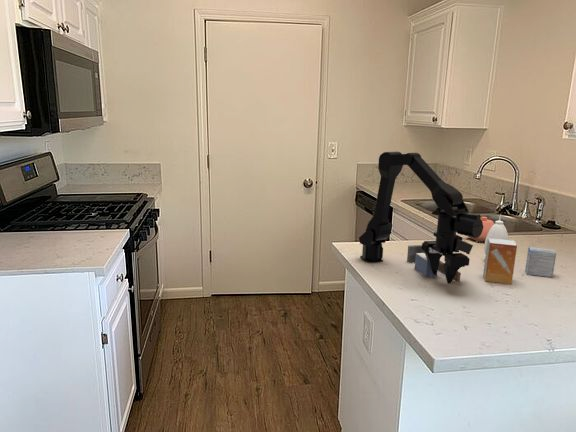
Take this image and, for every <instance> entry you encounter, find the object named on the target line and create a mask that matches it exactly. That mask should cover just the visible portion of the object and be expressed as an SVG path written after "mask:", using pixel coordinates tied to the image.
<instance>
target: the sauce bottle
mask: <svg viewBox="0 0 576 432" xmlns="http://www.w3.org/2000/svg"><path fill="white" fill-rule="evenodd" d="M501 217H502V214H501V213H500V214H499V217H498V220H495V223H494V225H493V226H492V227H491V229H490V230H489V232H488V234H487V237H486V240H485V242H484V254H485V255H486V249H487V241H488V238H491V239H503V240H510V239H509V234H508V230H507V228H506V226H505V225H504V221H502V220H501Z"/></svg>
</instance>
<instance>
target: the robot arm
mask: <svg viewBox="0 0 576 432" xmlns="http://www.w3.org/2000/svg"><path fill="white" fill-rule="evenodd" d="M404 166H407V167H409V168H410V169H411V171H412V172H413V173H414V174H415V175H416V176H417V178H418V179H419V180H420V181H421V182H422V183H423V184H424V185H425V186H426V188H427V189H428V190H429V191H430V193H431V199H432V200H433V202H434V203H435V205H436V206H437V208H436V209H435V210H434V211H433V210H432V211H431V214H432V215H434V216H437V221H436V222H437V224H436V232H433V236H434V237H435V240H424V241H423V242H422V243H421V245H422V250H424V253H425V255H426V257H427V260H428V262H429V264H430V267H431V270H432V272H433V274H434V275H436V274H437V275H438V272H439V271H438V267H439V262H440V261H441V257H443V256H444V262H443V265H444V270H445V274H444V275H445V280H446V284H448V285H451V284H452V282H453V281H454V280H453V279H454V277H455V275H456V273H457V271H458V272H459V270H460V269H461V268H465V267H468V266H470V260H471V259H470V257H468V256H467V255H470V253H471V251H472V248H473V247H474V245H473V244H471V243H469V242H468V241H464V240H463V237H462V236H466V237H469V236H470V237H474V238H478V237H479V236H480V235H481V233H482V231H483V222H482V220H481V214H478V213H470V211H469V208H468V207H467V205H466V203H465V201H464V197H463V193H461V192H460V191H459V189H457V188H455V187H454V186H452V185H451V184H449V183H447V182H445V181H444V180H443V179H442V178H441V177H440V176H439V175H438V174H437V173H436V172H435V171H434V170H433V169H432V167H430V165H429V164H428V163H427V162H426V161H425V159H423V158H422V155H421V154H420V153H418V152H407V153H402V152H401V151H383V153H381V154H380V155H379V156H378V168H377V169H378V172H379V175H380V181H379V185H378V190H377V196H376V200H375V206H374V212H373V216H372V217H371V219H370V220H369V221H368V222H367V225H366V227H365V232H363V234H362V235H360V236H359V237H358V240H359V244H360V245H362V252H361V254H362V255H360V256H359V257H360V258H361V259H362V260H363V261H364V262H366V263H377V262H379V263H381V262H384V260H383V256H384V247H383V244H385V243H386V242H387V239H388V238H389V237H390V235H392V228H393V223H390V221H389V213H390V208H391V202H392V197H393V193H394V189H395V188H394V187H395V183H396V178H397V177H398V176H399V174H400V173H401V172H402V170H403V167H404ZM460 235H462V236H460ZM464 253H465V254H464ZM466 254H467V255H466Z"/></svg>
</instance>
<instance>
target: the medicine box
mask: <svg viewBox="0 0 576 432" xmlns="http://www.w3.org/2000/svg"><path fill="white" fill-rule="evenodd" d="M556 257H557V252H556V251H555V250H554V248H553V249H552V248H551V249H550V248H541V247H531V246H528V248H527V255H526V261H525V262H526V263H525V273H526V275H527V276H528V275H530V276H539V277H546V278H547V277H548V278H554V271H555V265H556V259H557V258H556Z"/></svg>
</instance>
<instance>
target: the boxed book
mask: <svg viewBox="0 0 576 432" xmlns="http://www.w3.org/2000/svg"><path fill="white" fill-rule="evenodd" d="M414 270H415V271H417V272H418V273H420V274H421V275H423V276H425V277H429V278H430V277H437V276H438V273H437V274H436V275H434V274H433V272H432V270H431V267H430V264H429V262H428V260H427V257H426V255H425V253H416V258H415V263H414Z"/></svg>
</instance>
